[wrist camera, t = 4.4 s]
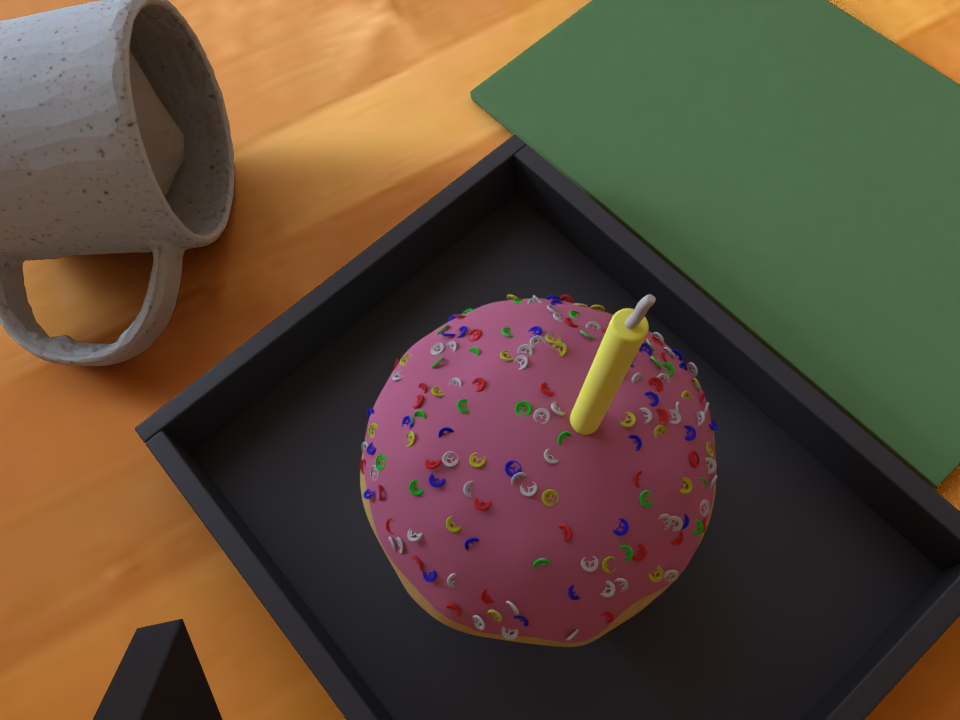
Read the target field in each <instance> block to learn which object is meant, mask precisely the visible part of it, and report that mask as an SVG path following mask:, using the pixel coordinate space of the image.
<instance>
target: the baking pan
mask: <svg viewBox="0 0 960 720" xmlns="http://www.w3.org/2000/svg"><path fill="white" fill-rule="evenodd" d="M509 294H511V295H514V296H516V297H518V298H519V299H531V298H533V295H535V296H537V297H539V298H543V299H546V298H547V296H550V295H555V296H558V297H561V296H562V295H569V296H570V297H572V299H573V300H574V303H580V304H585V305H587V307H591V306H592V305H601V306H603V307H604V308H605V311H604V312H607V313H610V314H612V315H614V314H615V313H616V312H617V311H619V310H621V309H626V308H630V309H635V308H636V305H637V304H638V302H639V301H640V300H641V299H642V298H643V297H645V296H646V295H653V296H654V297H655V299H656V301H655V303H654V304H653V305H652V306H651V307H650V308H649V309H648V311H647V313H646V315H645V317H646V319H647V321H648V325H649V329H648V331H650V332H651V333H654V332H658V333H660V334H661V335H662V337H663V339H664V343H665V344H666V345H667V346H668V347H670V348H671V349H672V350H673V349H675V350H678V351H680V352H681V353H682V355H683V359H682V361H683V362H684V363H685V364H686V366H687V364H688V363H690V362H691V363H693V364H695V366H696V367H697V370H698V373H697V376H695V377H696V379H697V380H698V382H699V384H700V386H701V389H702V391H704V396H705V399H706V402H709V406H708V408H709V412H710V416H711V419H712V420H714V421H715V422H716V423H717V425H718V430H717V431H714V439H715V452H716V465H717V467H716V475H717V476H718V478H717V481H716V490H715V499H714V504H713V509H712V513H711V517H710V520H709V523H708V526H707V529H706V531H705V534H704V536H703V538H702V540H701V542H700V544H699V545H698V547H697V549H696V551H695V552H694V554H693V556H692V558H691V560H690V562H689V563H688V565H687V566H686V568H685V569H684V571H683V572H682V573H681V574H680V575H679V577H678V578H677V579H676V580H675V581H673V582H672V584H671V585H670V586H669V587H668V588H667V589H666V590H665V591H663V592H662V593H661V594H660V595H659V596H658V597H657V598H655V599H654V600H653V601H652V602H651V603H650V604H648V605H647V606H646V607H645V608H644V609H642V610H641V611H640V612H638V613H637V614H636V615H634V616H633V617H631V618H630V619H628V620H626V621H625V622H623V623H622V624H620V625H618V626H617V627H615V628H614V629H612V630H611V631H609V632H607V633H606V634H604V635H603V636H601V637H600V638H598V639H596V640H594V641H593V642H590V643H588V644H585V645H582V646H577V647H556V646H546V645H536V644H527V643H519V642H512V641H506V640H500V639H494V638H487V637H481V636H476V635H472V634H468V633H464V632H461V631H458V630H455V629H453V628H451V627H449V626H446V625H445V624H443V623H441V622H439V621H438V620H436V619H435V618H433V617H432V616H431V615H430V614H428V613H427V612H426V611H425V610H424V609H423V608H422V607H421V606H420V605H419V604H418V603H417V602H416V601H415V600H414V599H413V598H412V597H411V596H410V595H409V593H408V592H407V590H406V589H405V587H404V586H403V584H402V582H401V580H400V579H399V577H398V575H397V573H396V572H395V570H394V568H393V566H392V565H391V563H390V561H389V559H388V558H387V556H386V554H385V552H384V550H383V549H382V547H381V545H380V543H379V541H378V539H377V537H376V535H375V533H374V531H373V529H372V527H371V525H370V522H369V520H368V517H367V515H366V512H365V508H364V505H363V501H362V495H361V487H360V463H361V459H362V453H363V452H362V448H361V445H362V443H363V442H365V435H366V430H367V425H368V422H369V419H368V415H367V412H368V409H369V408H372V409H373V407H374V405H375V403H376V401H377V399H378V397H379V395H380V393H381V391H382V390H383V388H384V386H385V384H386V383H387V381H388V379H389V377H390V376H391V374H392V372H393V370H394V366H395V362H396V360H397V359H398V360H399V361H400V359H401V358H402V357H403V355H404V354H405V353H406V352H407V351H408V350H409V349H410V348H411V347H412V346H413V345H414V344H416V343H417V342H418V341H419V340H421V339H422V338H424V337H425V336H427V335H428V334H430V333H431V332H433V331H434V330H436V329H438V328H439V327H441V326H442V325H444V324H446V323H447V322H448V319H449V317H450V316H452V315H453V314H459V315H461V314H462V312H464V311H465V310H467V309H470V308H471V309H473V310H474V309H476V308H479V307H481V306H484V305H486V304H489V303H493V302H499V301H506V300H508V299H507V295H509ZM511 298H513V297H511ZM553 299H556V298H553ZM565 299H566V300H569V299H568V298H565ZM512 300H513V299H512ZM564 301H565V300H564ZM568 302H570V301H568ZM594 309H596V308H594ZM598 309H601V308H598ZM468 312H470V311H468ZM466 313H467V312H466ZM455 318H457V317H454V319H455ZM452 320H453V319H452ZM656 336H657V335H656ZM657 337H658V336H657ZM658 338H659V337H658ZM675 354H676V353H675ZM677 356H678V357H679V355H678V354H677ZM399 361H398V362H399ZM692 369H693V370H694V368H693V367H692ZM690 371H691V367H690ZM692 373H694V372H693V371H692ZM370 413H371V412H370ZM713 426H714V427H715V425H714V424H713ZM135 431H136V432H137V433H138V435H139V436H140V437H141V439H142V440H143V442H145V443H146V446H147V447H148V448H149V450H150V451H151V452H152V454H153V455H154V456H155V458H156V459H157V461H158V462H159V463H160V465H161V466H162V467H163V469H164V470H165V472H166V473H167V474H168V476H169V477H170V478H171V480H172V481H173V482H174V484H175V485H176V487H177V488H178V489H179V491H180V492H181V493H182V495H183V496H184V497H185V499H186V500H187V502H188V503H189V504H190V506H191V507H192V508H193V510H194V511H195V513H196V514H197V515H198V517H199V518H200V519H201V521H202V522H203V523H204V525H205V526H206V528H207V529H208V530H209V532H210V533H211V534H212V536H213V537H214V539H215V540H216V541H217V543H218V544H219V545H220V547H221V548H222V549H223V551H224V552H225V554H226V555H227V556H228V558H229V559H230V560H231V562H232V563H233V565H234V566H235V567H236V569H237V570H238V571H239V573H240V574H241V575H242V577H243V578H244V580H245V581H246V582H247V584H248V585H249V586H250V588H251V589H252V591H253V592H254V593H255V595H256V596H257V597H258V599H259V600H260V601H261V603H262V604H263V606H264V607H265V608H266V610H267V611H268V612H269V614H270V615H271V617H272V618H273V619H274V621H275V622H276V623H277V625H278V626H279V627H280V629H281V630H282V632H283V633H284V634H285V636H286V637H287V638H288V640H289V641H290V643H291V644H292V645H293V647H294V648H295V649H296V651H297V652H298V653H299V655H300V656H301V658H302V659H303V660H304V662H305V663H306V664H307V666H308V667H309V669H310V670H311V671H312V673H313V674H314V675H315V677H316V678H317V679H318V681H319V682H320V684H321V685H322V686H323V688H324V689H325V690H326V692H327V693H328V695H329V696H330V697H331V699H332V700H333V701H334V703H335V704H336V705H337V707H338V708H339V710H340V711H341V712H342V714H343V715H344V716H345V718H346V719H347V720H864V719H865V718H866V717H867V716H868V715H869V714H870V713H871V712H872V711H873V710H874V708H875V707H876V706H877V705H878V704H879V703H880V702H881V701H882V700H883V699H884V698H885V696H886V695H887V694H888V693H889V692H890V691H891V690H892V689H893V688H894V687H895V686H896V685H897V683H898V682H899V681H900V680H901V679H902V678H903V677H904V676H905V675H906V674H907V673H908V672H909V670H910V669H911V668H912V667H913V666H914V665H915V664H916V663H917V662H918V661H919V660H920V658H921V657H922V656H923V655H924V654H925V653H926V652H927V651H928V650H929V649H930V648H931V647H932V645H933V644H934V643H935V642H936V641H937V640H938V639H939V638H940V637H941V636H942V635H943V633H944V632H945V631H946V630H947V629H948V628H949V627H950V626H951V625H952V624H953V623H954V622H955V620H956V619H957V618H958V617H959V616H960V511H959V510H957V509H956V508H955V507H954V506H953V505H951V504H950V503H949V502H948V501H947V500H946V499H944V498H943V497H942V496H941V495H940V494H938V493H937V492H936V491H935V490H934V489H933V488H931V487H930V486H929V485H928V484H927V483H926V482H924V481H923V480H922V479H921V478H920V477H918V476H917V475H916V474H915V473H914V472H913V471H911V470H910V469H909V468H908V467H907V466H906V465H904V464H903V463H902V462H901V461H900V460H898V459H897V458H896V457H895V456H894V455H893V454H891V453H890V452H889V451H888V450H887V449H885V448H884V447H883V446H882V445H881V444H880V443H878V442H877V441H876V440H875V439H874V438H873V437H871V436H870V435H869V434H868V433H867V432H865V431H864V430H863V429H862V428H861V427H860V426H858V425H857V424H856V423H855V422H854V421H853V420H851V419H850V418H849V417H848V416H847V415H845V414H844V413H843V412H842V411H841V410H840V409H838V408H837V407H836V406H835V405H834V404H832V403H831V402H830V401H829V400H828V399H827V398H825V397H824V396H823V395H822V394H821V393H820V392H818V391H817V390H816V389H815V388H814V387H812V386H811V385H810V384H809V383H808V382H807V381H805V380H804V379H803V378H802V377H801V376H800V375H798V374H797V373H796V372H795V371H794V370H792V369H791V368H790V367H789V366H788V365H787V364H785V363H784V362H783V361H782V360H781V359H779V358H778V357H777V356H776V355H775V354H774V353H772V352H771V351H770V350H769V349H768V348H767V347H765V346H764V345H763V344H762V343H761V342H759V341H758V340H757V339H756V338H755V337H754V336H752V335H751V334H750V333H749V332H748V331H747V330H745V329H744V328H743V327H742V326H741V325H739V324H738V323H737V322H736V321H735V320H734V319H732V318H731V317H730V316H729V315H728V314H726V313H725V312H724V311H723V310H722V309H721V308H719V307H718V306H717V305H716V304H715V303H714V302H712V301H711V300H710V299H709V298H708V297H706V296H705V295H704V294H703V293H702V292H701V291H699V290H698V289H697V288H696V287H695V286H694V285H692V284H691V283H690V282H689V281H688V280H686V279H685V278H684V277H683V276H682V275H681V274H679V273H678V272H677V271H676V270H675V269H674V268H672V267H671V266H670V265H669V264H668V263H666V262H665V261H664V260H663V259H662V258H661V257H659V256H658V255H657V254H656V253H655V252H653V251H652V250H651V249H650V248H649V247H648V246H646V245H645V244H644V243H643V242H642V241H641V240H639V239H638V238H637V237H636V236H635V235H633V234H632V233H631V232H630V231H629V230H628V229H626V228H625V227H624V226H623V225H622V224H621V223H619V222H618V221H617V220H616V219H615V218H613V217H612V216H611V215H610V214H609V213H608V212H606V211H605V210H604V209H603V208H602V207H600V206H599V205H598V204H597V203H596V202H595V201H593V200H592V199H591V198H590V197H589V196H588V195H586V194H585V193H584V192H583V191H582V190H580V189H579V188H578V187H577V186H576V185H575V184H573V183H572V182H571V181H570V180H569V179H568V178H566V177H565V176H564V175H563V174H562V173H560V172H559V171H558V170H557V169H556V168H555V167H553V166H552V165H551V164H550V163H549V162H547V161H546V160H545V159H544V158H543V157H542V156H540V155H539V154H538V153H537V152H536V151H535V150H533V149H532V148H531V147H530V146H529V145H527V144H526V143H525V142H524V141H523V140H521V139H520V138H519V137H518V136H517V135H513V136H512V137H510V138H509V139H508V140H507V141H505V142H504V143H503V144H501V145H500V146H499V147H498V148H496V149H495V150H494V151H492V152H491V153H490V154H488V155H487V156H486V157H485V158H483V159H482V160H481V161H479V162H478V163H477V164H476V165H474V166H473V167H472V168H470V169H469V170H468V171H467V172H465V173H464V174H463V175H461V176H460V177H459V178H457V179H456V180H455V181H454V182H452V183H451V184H450V185H448V186H447V187H446V188H445V189H443V190H442V191H441V192H439V193H438V194H437V195H435V196H434V197H433V198H432V199H430V200H429V201H428V202H426V203H425V204H424V205H423V206H421V207H420V208H419V209H417V210H416V211H415V212H413V213H412V214H411V215H410V216H408V217H407V218H406V219H404V220H403V221H402V222H401V223H399V224H398V225H397V226H395V227H394V228H393V229H391V230H390V231H389V232H388V233H386V234H385V235H384V236H382V237H381V238H380V239H379V240H377V241H376V242H375V243H373V244H372V245H371V246H369V247H368V248H367V249H366V250H364V251H363V252H362V253H360V254H359V255H358V256H357V257H355V258H354V259H353V260H351V261H350V262H349V263H348V264H346V265H345V266H344V267H342V268H341V269H340V270H338V271H337V272H336V273H335V274H333V275H332V276H331V277H329V278H328V279H327V280H326V281H324V282H323V283H322V284H320V285H319V286H318V287H316V288H315V289H314V290H313V291H311V292H310V293H309V294H307V295H306V296H305V297H304V298H302V299H301V300H300V301H298V302H297V303H296V304H294V305H293V306H292V307H291V308H289V309H288V310H287V311H285V312H284V313H283V314H282V315H280V316H279V317H278V318H276V319H275V320H274V321H272V322H271V323H270V324H269V325H267V326H266V327H265V328H263V329H262V330H261V331H260V332H258V333H257V334H256V335H254V336H253V337H252V338H251V339H249V340H248V341H247V342H245V343H244V344H243V345H241V346H240V347H239V348H238V349H236V350H235V351H234V352H232V353H231V354H230V355H229V356H227V357H226V358H225V359H223V360H222V361H221V362H219V363H218V364H217V365H216V366H214V367H213V368H212V369H210V370H209V371H208V372H207V373H205V374H204V375H203V376H201V377H200V378H199V379H197V380H196V381H195V382H194V383H192V384H191V385H190V386H188V387H187V388H186V389H185V390H183V391H182V392H181V393H179V394H178V395H177V396H175V397H174V398H173V399H172V400H170V401H169V402H168V403H166V404H165V405H164V406H163V407H161V408H160V409H159V410H157V411H156V412H155V413H154V414H152V415H151V416H150V417H148V418H147V419H146V420H144V421H143V422H142V423H141V424H139V425H138V426H137V427H136V428H135Z"/></svg>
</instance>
